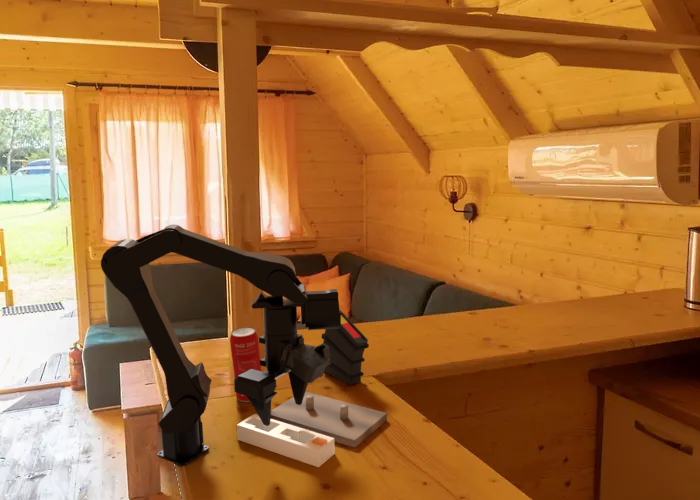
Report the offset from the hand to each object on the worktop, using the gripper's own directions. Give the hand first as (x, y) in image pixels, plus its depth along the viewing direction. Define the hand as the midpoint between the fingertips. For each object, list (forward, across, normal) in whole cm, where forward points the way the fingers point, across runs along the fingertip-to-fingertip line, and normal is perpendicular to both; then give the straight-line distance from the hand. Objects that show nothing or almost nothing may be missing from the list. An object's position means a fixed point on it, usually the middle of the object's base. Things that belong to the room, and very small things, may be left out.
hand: (283, 414), depth 108 cm
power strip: (+6, 0, 0) cm, 6 cm away
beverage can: (+6, +12, +19) cm, 23 cm away
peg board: (+6, +12, -1) cm, 14 cm away
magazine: (+6, +31, +7) cm, 32 cm away
